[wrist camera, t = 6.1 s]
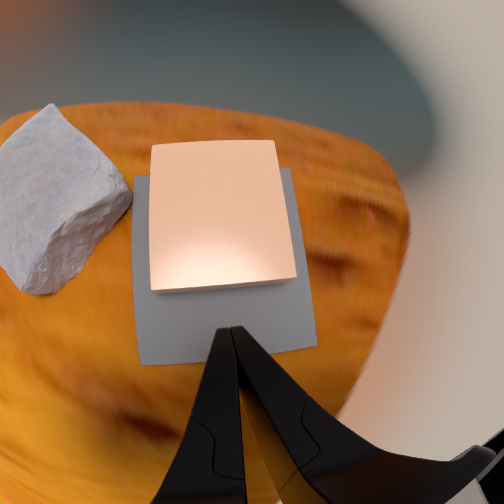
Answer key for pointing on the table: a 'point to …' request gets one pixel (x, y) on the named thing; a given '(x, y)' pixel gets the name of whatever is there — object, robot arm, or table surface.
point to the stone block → (54, 201)
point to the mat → (217, 300)
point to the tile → (217, 217)
